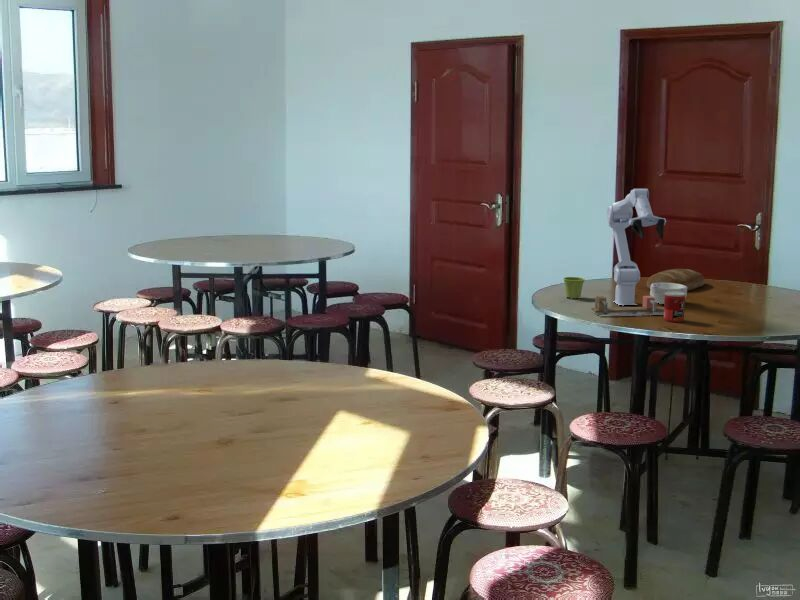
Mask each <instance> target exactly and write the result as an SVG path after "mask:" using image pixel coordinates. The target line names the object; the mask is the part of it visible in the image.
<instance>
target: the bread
mask: <svg viewBox="0 0 800 600" xmlns="http://www.w3.org/2000/svg"><path fill="white" fill-rule="evenodd" d="M653 283H675V284H681V285H685V286H687V292H689V291H693V290H696V289H698V288H701V287H703V286H704V285H705V284H706V278H705V277H704V275H703V274H702V273H700V272H698V271H696V270H693V269H688V268H686V269H685V268H672V269H666V270H664V271H663V270H662V271H658V272H657V273H655V274H652V275H651V276H650V277H648V279H647V282H646V287H647V288H648V289H649V290H651V289H650V287H651V284H653Z"/></svg>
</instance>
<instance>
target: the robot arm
mask: <svg viewBox="0 0 800 600" xmlns="http://www.w3.org/2000/svg"><path fill="white" fill-rule="evenodd" d="M649 198H650V192H649V189H648V188H633V189H631V190H630V193H628V194H627V195H626V196H625V198H624V199H622V200H620V201H616V202H614V203H611V205H609V206H608V207H607V208H606V209H607V210H606V218H607V223H608V226H609V227H610V228H611V229H612V231H613V237H614V242H615V247H616V253H617V258H618V259H617V260H618V262H617V264H615V266H614V267H613V279H614V282H615V283H616V286H615V291H614V300H612V302H613V303H614V302H615V303H616V305H617V304H618V305H617V306H619V305H622V306H621V307H625V306H624V305H638V304H637V303H635V299H636V298H635V297H636V295H635V294H636V285H637V284H638V283H639V282H640V279H641V272H640V270H639V267H638V264H637V263H636V262H635V261H632V260H631V254H630V250H629V244H628V240H627V239H628V238H627V234H626V229H627V228H628V227H630V226H631V228H632V231H634V232H635V233H636V234H637V235H638V236H639V237H640V239H641V240H643V239H644V237H645V232H644V228H643V227H651V226H654V225H655V227H656V228H655V231H656V232H657V234H658V236H659V239H661V240H662V239H663V237H664V226H665V225H666V223H667V220H666V218H665V217H660V216H656V215H654V214H653V211H652V207H651V203H650V201H649ZM634 207H635V210H636V214H637V216H636V217H633V215H634V214H633V213H634V211H633V208H634ZM615 303H614V304H615Z"/></svg>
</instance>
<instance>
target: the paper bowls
mask: <svg viewBox="0 0 800 600" xmlns="http://www.w3.org/2000/svg"><path fill="white" fill-rule="evenodd" d="M650 289H651V290H650ZM650 289H649V290H650V291H649V296H651V297H653V298H654V301H655V302H656V304H658V303H659V305H662V304H664V300H665V292H670V291H675V292H683V293H685V299H687V295H688V291H687V286H685V285H681V284H675V283H653V284H651V287H650Z"/></svg>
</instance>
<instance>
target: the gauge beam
mask: <svg viewBox="0 0 800 600" xmlns="http://www.w3.org/2000/svg"><path fill="white" fill-rule="evenodd" d="M608 305H609V304H608V302H607V297H606V296H604V295H595V305H594V307H591V310H593V311H594V312H637V311H653V309H646V308H644V307H643V306H619V307H608ZM655 311H664V306H656V309H655Z"/></svg>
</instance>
